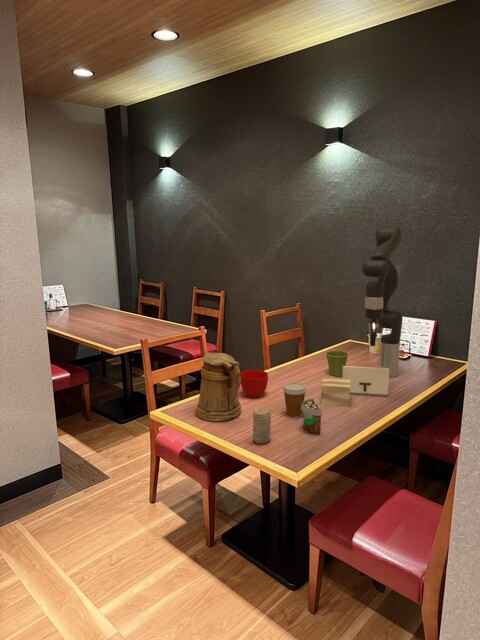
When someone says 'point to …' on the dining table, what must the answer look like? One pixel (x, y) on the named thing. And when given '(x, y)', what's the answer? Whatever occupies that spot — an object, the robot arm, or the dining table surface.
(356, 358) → the dining table surface
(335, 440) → the dining table surface
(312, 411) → the food container
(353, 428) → the dining table surface
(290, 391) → the disposable coffee cup
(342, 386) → the beech block
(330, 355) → the plant pot
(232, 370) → the tankard
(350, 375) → the letter sign
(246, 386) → the ceramic cup
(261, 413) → the beige textured cylinder
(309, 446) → the dining table surface
